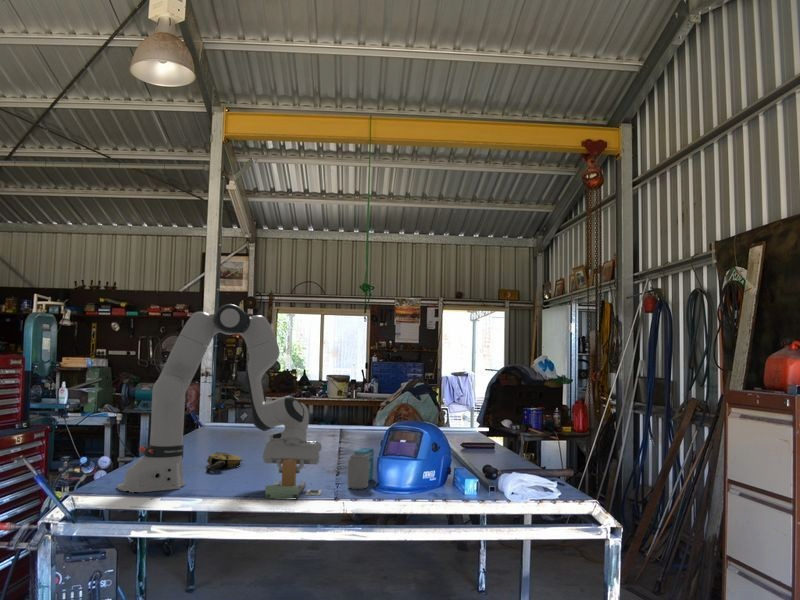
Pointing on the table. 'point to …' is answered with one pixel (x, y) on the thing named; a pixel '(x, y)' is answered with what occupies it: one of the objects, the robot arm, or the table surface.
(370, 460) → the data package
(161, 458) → the robot arm
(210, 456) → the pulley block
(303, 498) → the table surface
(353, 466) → the can
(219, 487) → the table surface
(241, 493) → the table surface
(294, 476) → the orange brown box
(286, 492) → the switch channel
